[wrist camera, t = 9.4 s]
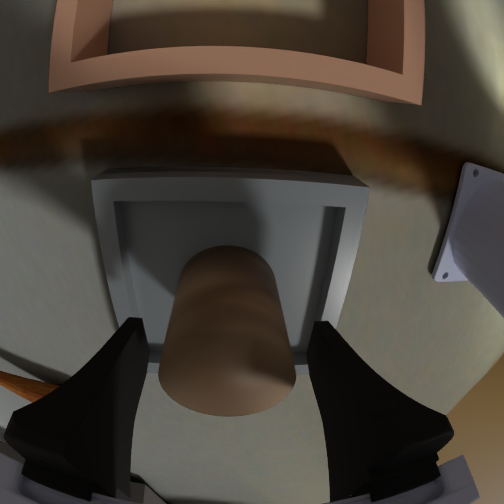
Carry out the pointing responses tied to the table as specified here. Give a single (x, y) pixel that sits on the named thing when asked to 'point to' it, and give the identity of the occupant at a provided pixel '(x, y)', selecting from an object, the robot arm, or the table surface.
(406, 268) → the table surface
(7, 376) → the kendama
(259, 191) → the tray
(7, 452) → the organizer tray
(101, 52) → the holder
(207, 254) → the brown rounded cylinder
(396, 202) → the table surface
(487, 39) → the table surface
